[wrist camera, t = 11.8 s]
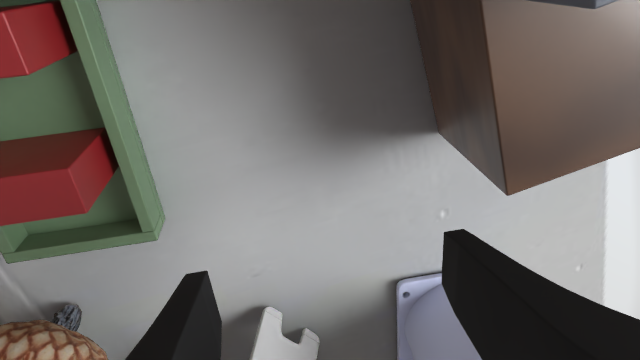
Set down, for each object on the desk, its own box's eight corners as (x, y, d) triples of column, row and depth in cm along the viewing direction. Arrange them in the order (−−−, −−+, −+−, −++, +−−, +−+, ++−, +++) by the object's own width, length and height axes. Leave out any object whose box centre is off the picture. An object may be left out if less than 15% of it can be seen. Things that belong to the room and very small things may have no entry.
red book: (120, 165, 20) (87, 213, 16) (13, 180, 20) (-47, 233, 16) (106, 126, 19) (68, 168, 15) (-7, 141, 19) (-75, 188, 15)
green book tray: (165, 218, 23) (157, 240, 21) (27, 239, 22) (6, 264, 20) (56, -124, 16) (30, -136, 14) (-151, -106, 15) (-207, -115, 13)
